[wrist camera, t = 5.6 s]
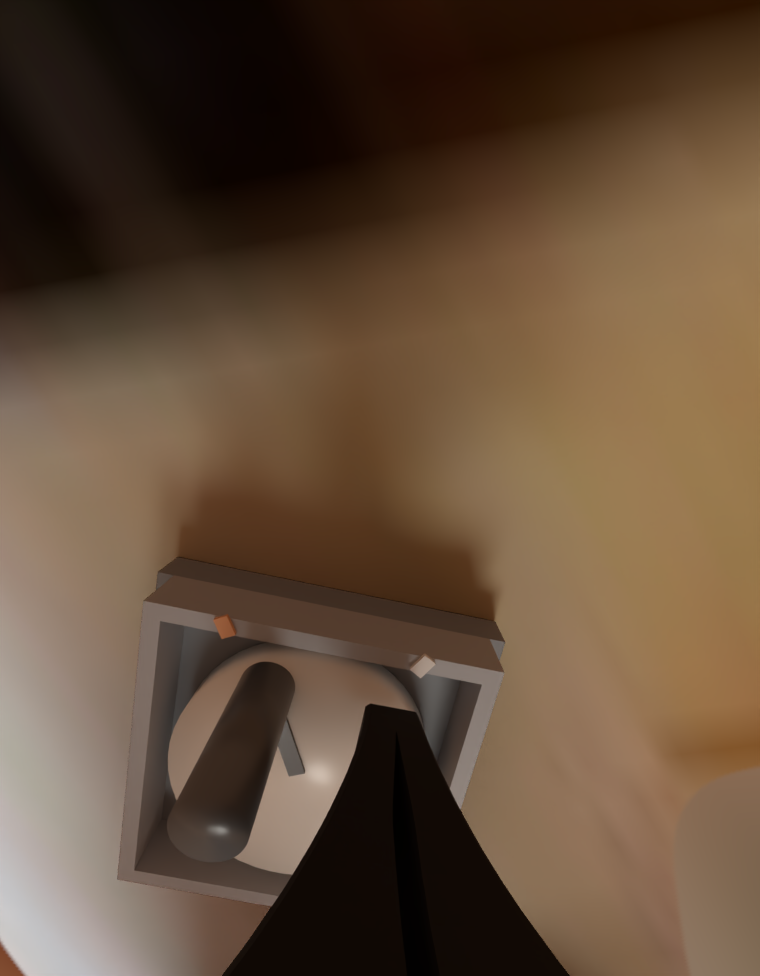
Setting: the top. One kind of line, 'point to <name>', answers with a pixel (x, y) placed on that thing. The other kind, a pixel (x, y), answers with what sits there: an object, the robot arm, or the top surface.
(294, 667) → the dial
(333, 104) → the top surface
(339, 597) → the dial plate
